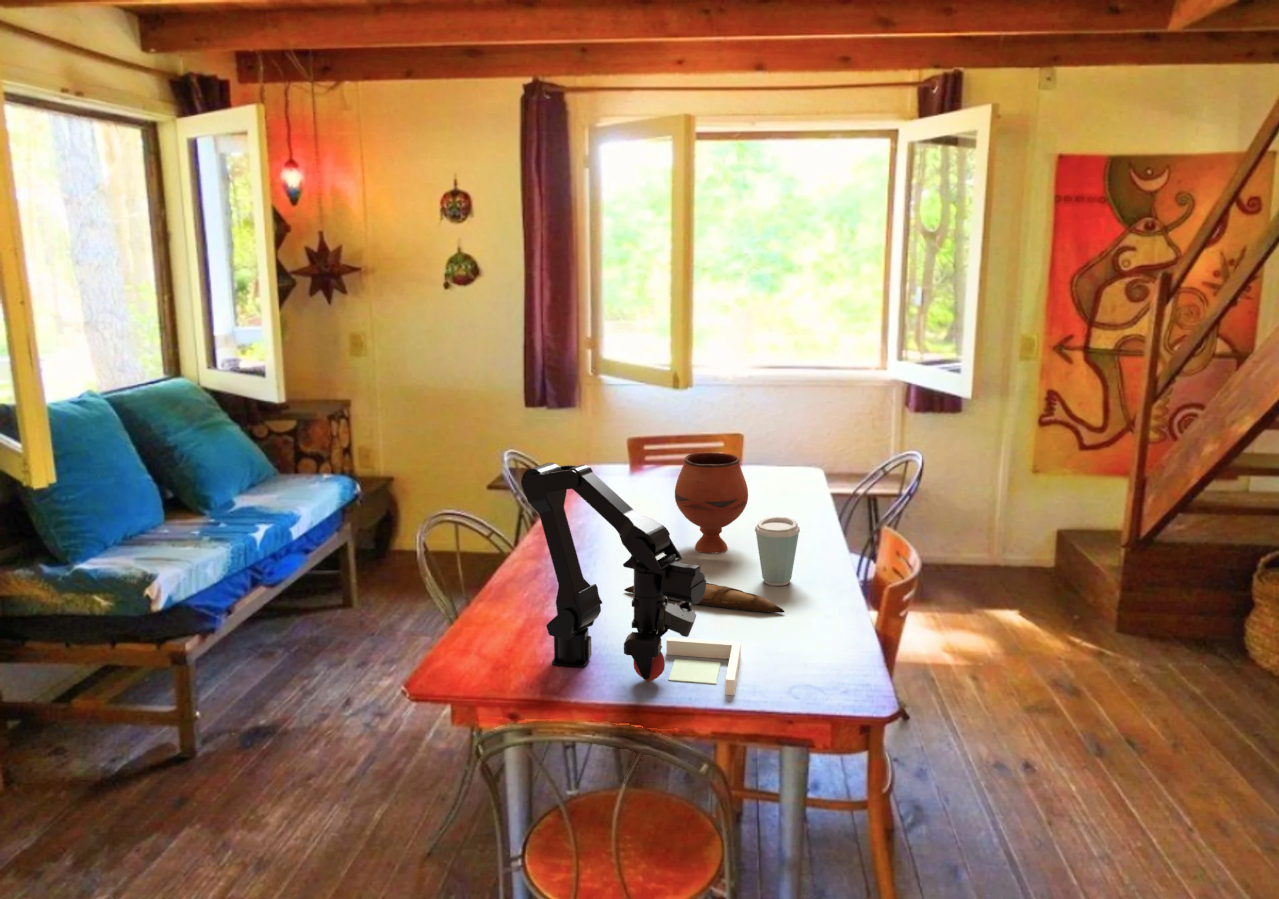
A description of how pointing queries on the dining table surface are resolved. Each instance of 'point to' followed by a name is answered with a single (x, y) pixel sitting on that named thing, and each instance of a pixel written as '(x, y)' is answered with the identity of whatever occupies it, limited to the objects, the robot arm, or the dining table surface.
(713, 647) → the arena
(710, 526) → the goblet
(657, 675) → the onion
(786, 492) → the dining table surface
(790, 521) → the disposable coffee cup
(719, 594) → the bread
